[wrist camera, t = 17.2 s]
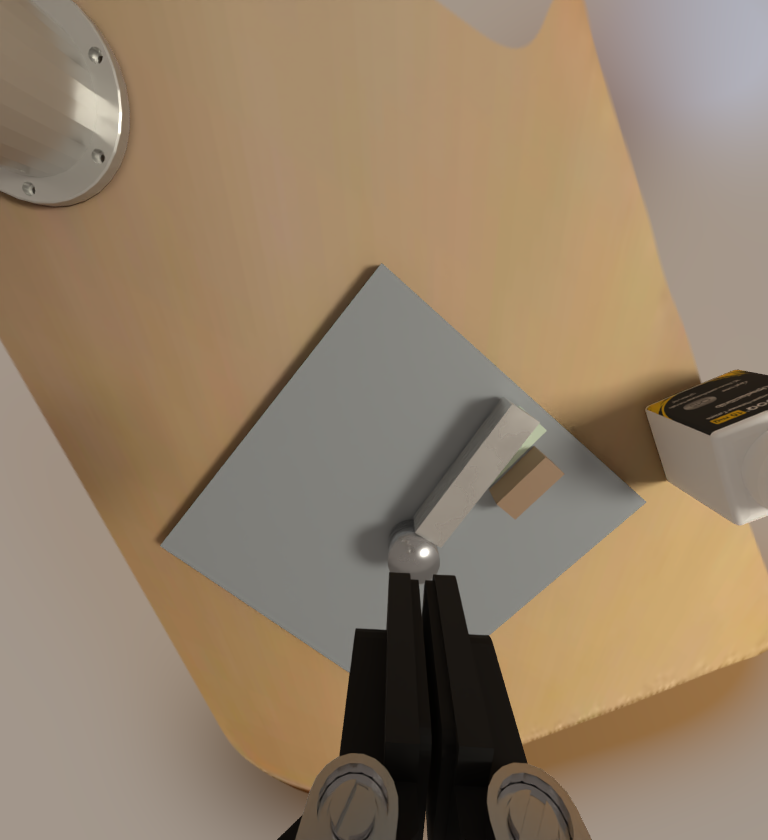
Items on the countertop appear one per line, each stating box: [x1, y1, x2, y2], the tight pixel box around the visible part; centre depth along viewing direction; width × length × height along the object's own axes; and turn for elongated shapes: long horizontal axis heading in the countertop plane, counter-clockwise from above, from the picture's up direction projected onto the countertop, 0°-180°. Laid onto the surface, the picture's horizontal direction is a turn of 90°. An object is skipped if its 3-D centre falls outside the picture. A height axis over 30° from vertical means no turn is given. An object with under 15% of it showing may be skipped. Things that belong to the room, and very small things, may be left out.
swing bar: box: [388, 397, 540, 585], centre depth 30 cm, size 16×4×3 cm, turn 148°
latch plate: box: [160, 263, 646, 673], centre depth 32 cm, size 28×30×4 cm
